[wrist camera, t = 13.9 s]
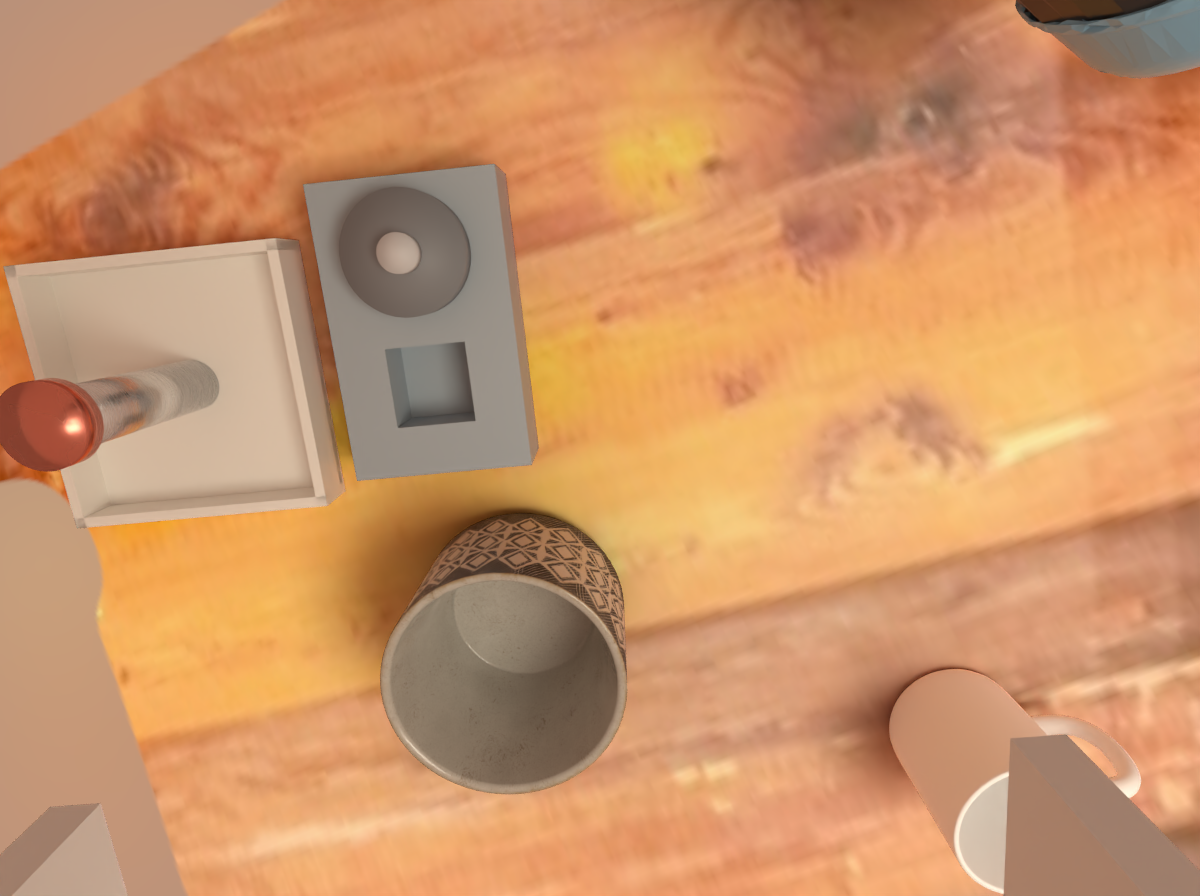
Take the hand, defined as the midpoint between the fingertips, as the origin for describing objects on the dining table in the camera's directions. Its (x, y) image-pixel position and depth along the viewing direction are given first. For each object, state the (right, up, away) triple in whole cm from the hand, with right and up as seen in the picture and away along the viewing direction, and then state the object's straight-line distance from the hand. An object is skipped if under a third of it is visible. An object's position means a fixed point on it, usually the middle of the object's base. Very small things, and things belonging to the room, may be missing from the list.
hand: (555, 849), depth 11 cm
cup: (+26, -12, +38) cm, 48 cm away
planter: (-4, -4, +37) cm, 37 cm away
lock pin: (-24, +10, +33) cm, 42 cm away
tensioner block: (-9, +13, +33) cm, 36 cm away
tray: (-24, +10, +34) cm, 42 cm away
